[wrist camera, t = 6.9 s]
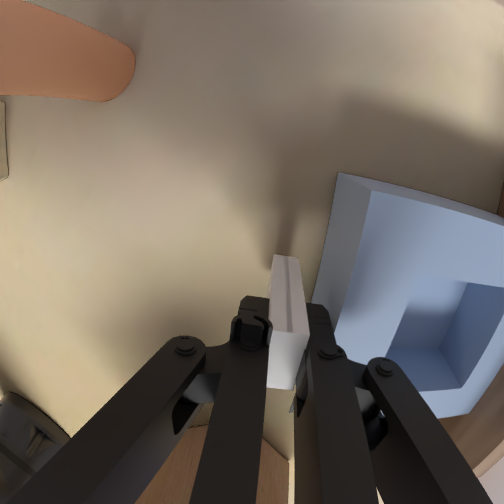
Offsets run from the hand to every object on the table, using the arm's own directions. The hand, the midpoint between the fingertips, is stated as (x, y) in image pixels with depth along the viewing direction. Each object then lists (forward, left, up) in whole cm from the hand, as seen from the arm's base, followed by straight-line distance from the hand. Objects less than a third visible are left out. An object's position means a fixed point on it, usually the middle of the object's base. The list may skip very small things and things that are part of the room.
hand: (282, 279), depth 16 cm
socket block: (+8, 0, -2) cm, 8 cm away
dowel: (-12, +11, -2) cm, 16 cm away
